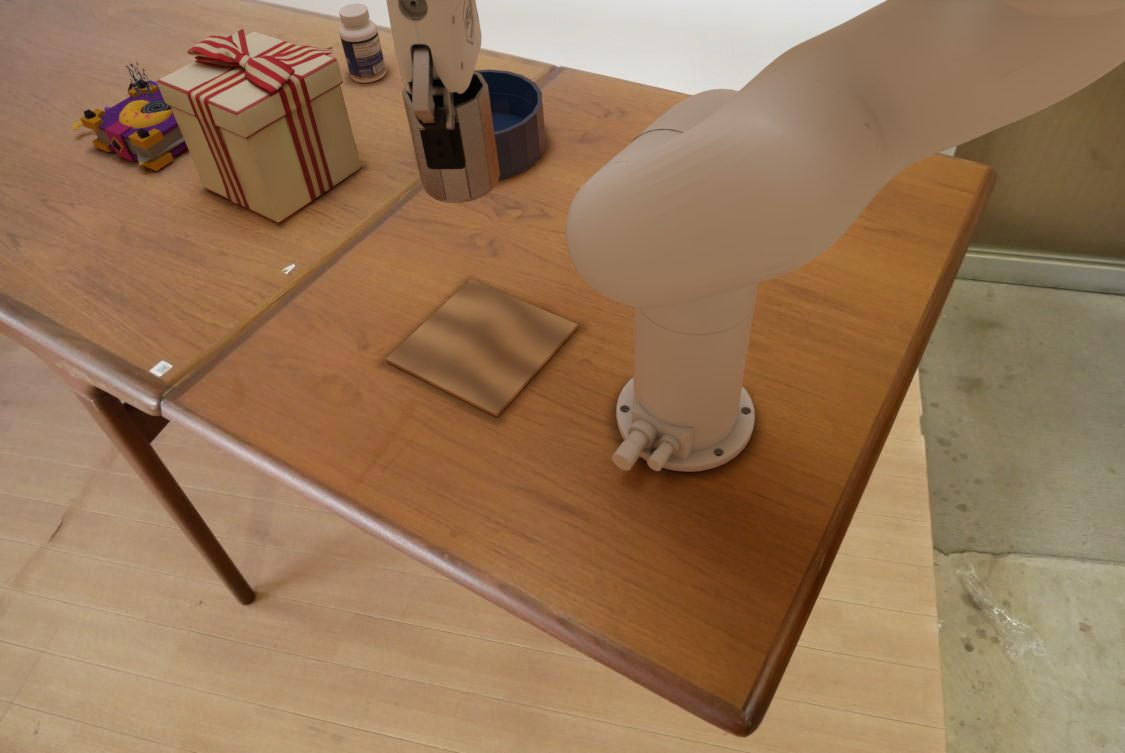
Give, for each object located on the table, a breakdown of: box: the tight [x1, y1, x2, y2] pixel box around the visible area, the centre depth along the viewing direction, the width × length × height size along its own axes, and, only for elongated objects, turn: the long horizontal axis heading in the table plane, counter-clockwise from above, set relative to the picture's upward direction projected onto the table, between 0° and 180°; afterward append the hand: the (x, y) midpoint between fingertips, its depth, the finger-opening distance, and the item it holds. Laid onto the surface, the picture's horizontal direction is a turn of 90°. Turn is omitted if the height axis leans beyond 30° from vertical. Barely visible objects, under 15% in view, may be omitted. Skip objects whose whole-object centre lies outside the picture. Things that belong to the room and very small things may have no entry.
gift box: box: [156, 28, 362, 223], centre depth 102 cm, size 17×18×17 cm
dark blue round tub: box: [474, 68, 547, 182], centre depth 108 cm, size 16×16×6 cm
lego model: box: [71, 61, 188, 172], centre depth 111 cm, size 15×25×12 cm, turn 59°
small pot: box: [401, 71, 500, 204], centre depth 72 cm, size 7×7×9 cm
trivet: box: [385, 278, 579, 418], centre depth 86 cm, size 14×14×1 cm
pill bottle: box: [338, 3, 387, 84], centre depth 121 cm, size 5×5×10 cm
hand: (454, 140), depth 73 cm, fingers closed on small pot, 7 cm apart
